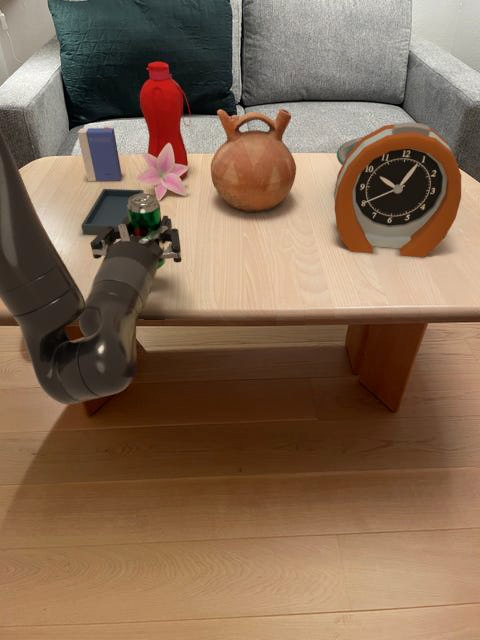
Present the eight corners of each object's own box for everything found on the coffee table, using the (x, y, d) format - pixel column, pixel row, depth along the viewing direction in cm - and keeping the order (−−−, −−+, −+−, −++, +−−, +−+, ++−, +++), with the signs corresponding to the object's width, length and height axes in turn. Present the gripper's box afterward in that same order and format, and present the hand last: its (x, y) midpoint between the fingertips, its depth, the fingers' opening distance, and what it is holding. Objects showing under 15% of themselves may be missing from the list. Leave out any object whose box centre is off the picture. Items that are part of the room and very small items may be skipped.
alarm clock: (329, 249, 92) (347, 132, 77) (329, 224, 99) (346, 112, 84) (446, 259, 89) (488, 140, 74) (437, 232, 97) (474, 119, 82)
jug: (211, 222, 99) (207, 125, 86) (212, 184, 113) (209, 95, 100) (297, 220, 100) (307, 125, 87) (288, 183, 113) (295, 95, 100)
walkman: (121, 176, 116) (113, 126, 108) (120, 180, 114) (111, 130, 106) (89, 176, 116) (79, 126, 108) (87, 181, 114) (76, 130, 106)
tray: (127, 235, 95) (126, 226, 94) (83, 234, 95) (81, 225, 94) (144, 198, 107) (143, 190, 106) (105, 197, 107) (103, 188, 106)
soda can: (170, 267, 79) (164, 202, 71) (142, 275, 77) (132, 210, 70) (159, 252, 83) (151, 189, 75) (131, 260, 81) (121, 196, 73)
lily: (130, 203, 107) (136, 175, 99) (136, 164, 112) (142, 135, 104) (181, 215, 111) (191, 189, 103) (185, 177, 116) (194, 149, 108)
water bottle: (192, 183, 113) (184, 69, 96) (147, 182, 113) (132, 68, 97) (196, 167, 120) (190, 58, 103) (153, 166, 120) (141, 57, 104)
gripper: (173, 260, 62) (191, 200, 75) (67, 255, 62) (102, 196, 75) (177, 304, 67) (193, 241, 80) (79, 299, 67) (110, 237, 80)
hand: (149, 219), depth 77 cm, fingers closed on soda can, 5 cm apart
